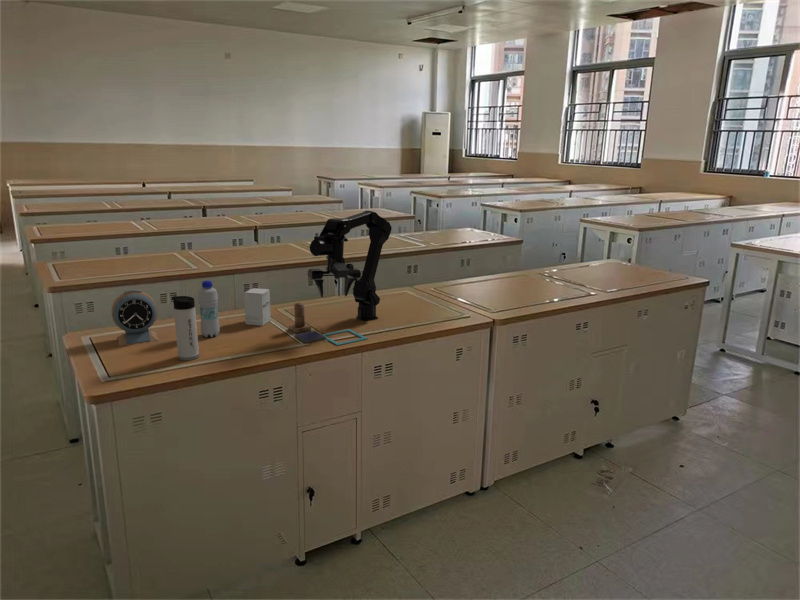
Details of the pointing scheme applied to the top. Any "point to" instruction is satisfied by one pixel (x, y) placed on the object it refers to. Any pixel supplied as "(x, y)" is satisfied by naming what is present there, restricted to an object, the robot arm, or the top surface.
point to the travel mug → (186, 327)
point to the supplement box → (257, 306)
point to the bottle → (208, 309)
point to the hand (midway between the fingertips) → (333, 296)
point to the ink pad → (310, 337)
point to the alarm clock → (135, 317)
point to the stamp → (299, 320)
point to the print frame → (346, 341)
